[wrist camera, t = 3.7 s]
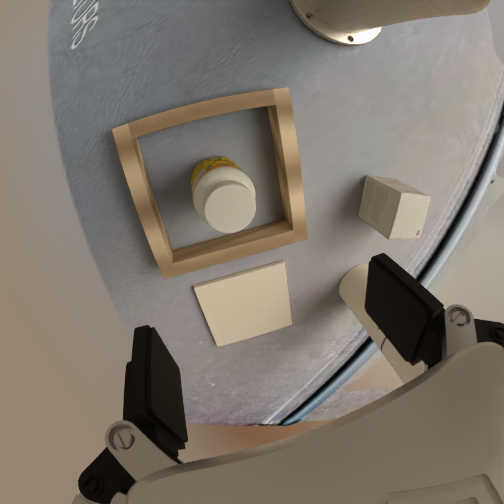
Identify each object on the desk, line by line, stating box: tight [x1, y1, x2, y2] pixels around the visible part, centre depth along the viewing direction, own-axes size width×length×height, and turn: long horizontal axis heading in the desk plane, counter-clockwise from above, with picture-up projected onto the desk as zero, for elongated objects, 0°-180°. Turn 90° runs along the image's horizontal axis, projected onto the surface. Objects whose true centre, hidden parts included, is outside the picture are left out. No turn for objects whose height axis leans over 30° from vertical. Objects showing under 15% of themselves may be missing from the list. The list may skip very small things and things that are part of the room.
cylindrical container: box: [339, 264, 424, 384], centre depth 31 cm, size 7×7×25 cm
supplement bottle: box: [191, 156, 256, 233], centre depth 24 cm, size 5×5×10 cm
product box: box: [358, 175, 431, 240], centre depth 31 cm, size 6×6×7 cm
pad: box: [194, 260, 292, 347], centre depth 38 cm, size 12×12×1 cm
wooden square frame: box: [112, 87, 308, 279], centre depth 27 cm, size 17×17×3 cm
